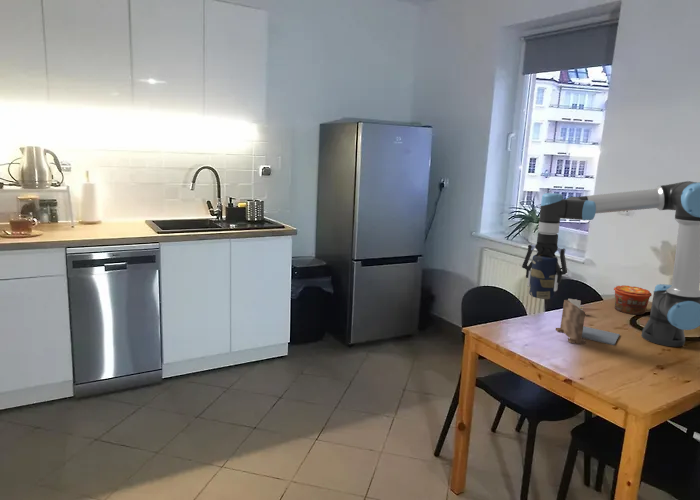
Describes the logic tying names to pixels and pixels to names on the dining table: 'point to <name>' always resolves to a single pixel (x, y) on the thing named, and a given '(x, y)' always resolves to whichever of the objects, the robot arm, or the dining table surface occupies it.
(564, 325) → the tan upright piece
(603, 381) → the dining table surface
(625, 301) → the food container
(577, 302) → the architectural model
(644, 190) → the robot arm
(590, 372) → the dining table surface
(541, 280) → the canister
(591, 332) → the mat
